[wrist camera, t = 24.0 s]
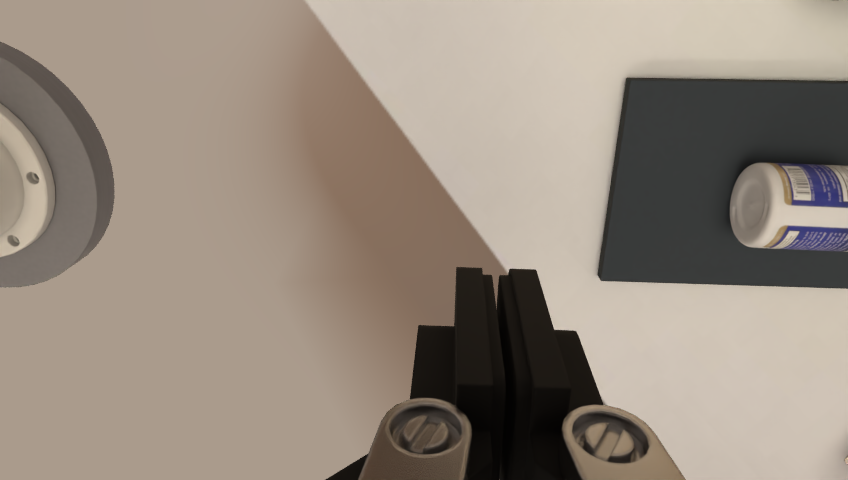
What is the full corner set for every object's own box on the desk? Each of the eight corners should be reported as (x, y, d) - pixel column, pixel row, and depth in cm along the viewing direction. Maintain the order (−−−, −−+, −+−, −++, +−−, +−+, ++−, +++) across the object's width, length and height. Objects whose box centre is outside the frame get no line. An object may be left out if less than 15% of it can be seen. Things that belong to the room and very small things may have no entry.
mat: (597, 274, 41) (600, 281, 40) (626, 77, 36) (630, 79, 35) (850, 282, 40) (860, 289, 39) (920, 82, 35) (933, 84, 34)
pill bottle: (720, 231, 38) (854, 238, 38) (759, 259, 33) (914, 268, 33) (738, 153, 36) (879, 160, 36) (783, 172, 31) (946, 180, 31)
